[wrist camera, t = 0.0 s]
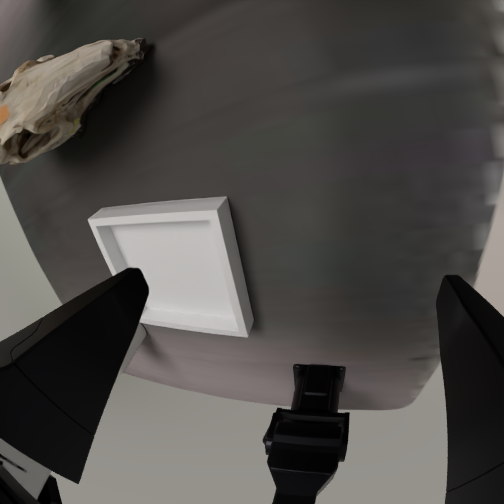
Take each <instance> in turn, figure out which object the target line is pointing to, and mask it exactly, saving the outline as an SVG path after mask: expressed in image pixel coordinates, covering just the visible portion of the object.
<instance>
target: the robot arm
mask: <svg viewBox="0 0 504 504" xmlns="http://www.w3.org/2000/svg"><path fill="white" fill-rule="evenodd" d="M148 296H149V286H148V284H147V282H146V279H145V277H144V275H143V273H142V271H141V270H140V269H139V268H133V267H129V268H126V269H125V270H123V271H121V272H119V273H117V274H116V275H114V276H112V277H110V278H109V279H107V280H105V281H103V282H101V283H100V284H98V285H96V286H94V287H93V288H91V289H89V290H87V291H86V292H84V293H82V294H81V295H79V296H77V297H75V298H74V299H72V300H70V301H69V302H67V303H65V304H64V305H62V306H60V307H59V308H57V309H55V310H54V311H52V312H50V313H49V314H47V315H45V316H44V317H42V318H40V319H39V320H37V321H36V322H34V323H32V324H31V325H29V326H27V327H26V328H24V329H22V330H20V331H19V332H17V333H15V334H13V335H12V336H10V337H8V338H6V339H4V340H3V341H1V342H0V504H62V502H61V498H60V494H59V490H58V486H57V481H56V478H54V477H53V476H52V475H51V474H50V473H51V471H53V472H55V473H57V474H59V475H61V476H63V477H65V478H67V479H69V480H71V481H73V482H75V483H77V484H79V481H80V479H81V476H82V473H83V470H84V467H85V463H86V460H87V457H88V454H89V451H90V448H91V445H92V442H93V439H94V435H95V433H96V430H97V427H98V425H99V422H100V419H101V416H102V414H103V411H104V408H105V406H106V403H107V400H108V398H109V395H110V393H111V390H112V387H113V385H114V383H115V380H116V378H117V375H118V373H119V371H120V368H121V366H122V363H123V361H124V359H125V356H126V354H127V352H128V349H129V347H130V345H131V342H132V340H133V338H134V335H135V333H136V330H137V327H138V325H139V322H140V319H141V316H142V313H143V310H144V307H145V304H146V301H147V299H148ZM436 309H437V318H438V330H439V344H440V357H441V364H442V372H443V379H444V388H445V399H446V411H447V433H448V469H447V488H446V491H447V492H446V498H445V504H504V317H503V316H502V315H501V314H500V313H499V312H498V311H497V310H496V309H495V308H494V307H493V306H492V305H491V304H490V303H489V302H488V301H487V300H486V299H484V298H483V297H482V296H481V295H480V294H479V293H478V292H477V291H476V290H475V289H474V288H472V287H471V286H470V285H469V284H468V283H467V282H466V281H464V280H463V279H462V278H461V277H460V276H458V275H445V276H444V277H443V280H442V283H441V286H440V290H439V293H438V296H437V300H436ZM295 366H298V367H295ZM341 368H342V369H343V370H340V369H341ZM345 370H346V368H345V367H343V366H325V365H302V364H295V365H293V371H294V383H295V391H294V396H293V401H292V406H291V410H289V409H282V408H277V410H276V412H275V413H273V416H272V420H271V423H270V426H269V428H268V430H267V432H266V434H265V436H264V438H263V443H264V444H265V449H266V455H269V456H268V460H267V463H268V467H269V469H270V472H271V474H272V477H273V480H274V482H275V485H276V492H275V496H274V499H273V503H272V504H315V500H316V496H317V495H318V494H319V493H320V492H321V491H322V490H323V489H324V488H325V487H326V486H327V485H328V484H329V483H330V481H331V480H332V479H333V477H334V475H335V473H336V470H337V468H338V462H344V460H345V456H346V451H347V444H348V433H349V414H350V413H349V412H346V413H338V403H339V393H340V392H341V391H342V387H343V382H344V376H345Z"/></svg>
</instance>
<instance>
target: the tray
mask: <svg viewBox="0 0 504 504" xmlns="http://www.w3.org/2000/svg"><path fill="white" fill-rule="evenodd" d="M88 221H89V224H90V226H91V229H92V231H93V233H94V236H95V238H96V240H97V243H98V245H99V247H100V249H101V252H102V254H103V256H104V258H105V260H106V262H107V265H108V267H109V269H110V271H111V273H112V275H113V276H114V275H116V274H117V273H119V272H121V271H123V270H125V269H126V268H129V267H133V268H139V269H140V270H141V271H142V273H143V275H144V277H145V279H146V282H147V284H148V286H149V296H148V299H147V301H146V304H145V307H144V310H143V313H142V316H141V319H140V323H146V324H151V325H157V326H163V327H170V328H176V329H183V330H190V331H197V332H205V333H213V334H221V335H230V336H239V337H249V334H250V331H251V328H252V325H253V322H254V318H253V314H252V309H251V305H250V300H249V296H248V291H247V287H246V282H245V278H244V273H243V269H242V264H241V259H240V255H239V250H238V245H237V241H236V236H235V231H234V227H233V222H232V217H231V213H230V208H229V203H228V198H227V197H213V198H199V199H186V200H174V201H163V202H152V203H142V204H133V205H124V206H115V207H107V208H102V209H100V210H99V211H98V212H96V213H95V214H94V215H93V216H91V217H90V218H89V219H88Z"/></svg>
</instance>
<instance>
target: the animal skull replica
mask: <svg viewBox="0 0 504 504" xmlns="http://www.w3.org/2000/svg"><path fill="white" fill-rule="evenodd" d="M149 48H150V47H149V46H148V45H147V43H146V39H145V38H136V39H135V40H133V41H128V40H124V39H120V40H101V41H97V42H95V43H92V44H87V45H84V46H82V47H79V48H77V49H76V50H74V51H72V52H70V53H67V54H65V55H62V56H60V57H57V58H55V56H53V55H48V56H44V57H41V58H40V59H38V60H37V61H34V60H29V61H27V62H24V63H23V65H21V66H20V67H19V68H18V69H17V70H16V71H15V72H14V75H13V77H12V78H11V79H9V80H7V81H5V82H3V83H2V84H1V85H0V164H4V163H8V162H9V164H11V165H18V163H25V162H29V161H30V160H32V159H34V158H36V157H37V156H38V155H39V154H41V153H43V152H47V151H49V150H52V149H54V148H56V147H58V146H60V145H62V144H63V143H65V142H66V141H67V140H68V139H69V138H71V137H72V138H74V137H79V138H81V136H82V133H83V131H84V130H85V124H86V123H85V122H86V116H87V114H88V112H89V111H90V110H91V109H92V108H94V107H96V106H97V107H98V105H99V104H100V97H101V95H102V93H103V91H104V90H105V89H106V88H107V87H108V85H110V84H113V85H114V86H115V85H116V84H117V83H120V82H121V80H123V79H124V77H125V76H126V75H127V74H129V72H131V70H132V69H133V68H135V66H137V65H138V64H140V63H145V61H144V59H143V58H144V57H143V56H144V54H145V53H146V52H147V51H148V50H149Z"/></svg>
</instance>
